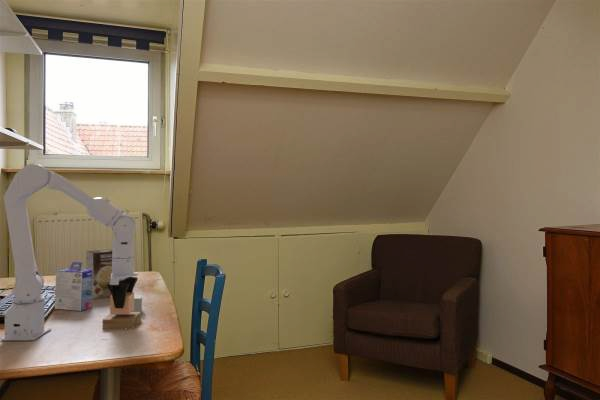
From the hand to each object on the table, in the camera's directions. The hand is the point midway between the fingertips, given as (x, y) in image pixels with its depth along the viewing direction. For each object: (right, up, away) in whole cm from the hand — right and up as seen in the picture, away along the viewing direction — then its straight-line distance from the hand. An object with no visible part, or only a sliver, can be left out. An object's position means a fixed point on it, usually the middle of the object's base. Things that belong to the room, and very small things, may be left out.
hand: (122, 305), depth 130 cm
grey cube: (-2, -5, +13) cm, 14 cm away
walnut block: (0, -6, 0) cm, 6 cm away
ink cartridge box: (-22, -5, +17) cm, 28 cm away
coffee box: (-21, -5, +35) cm, 41 cm away
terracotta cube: (0, -2, 0) cm, 2 cm away
